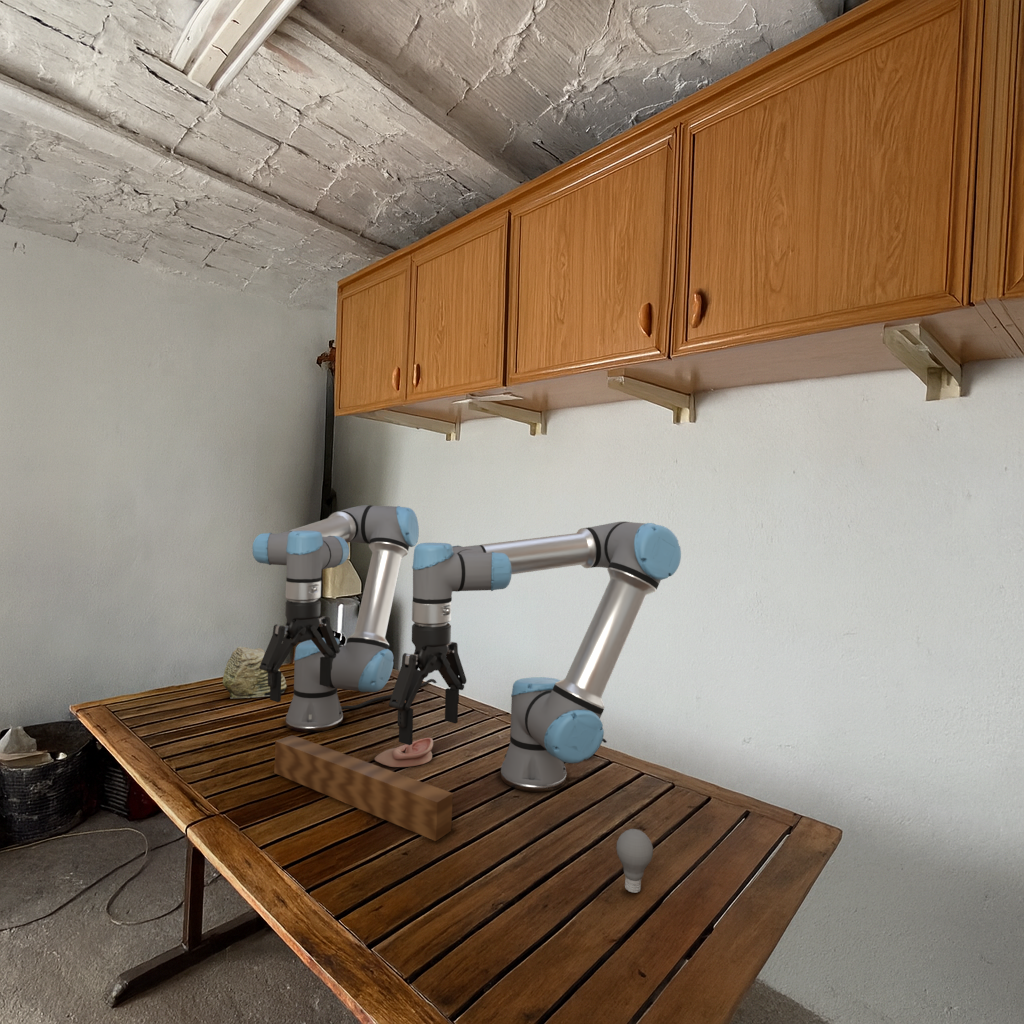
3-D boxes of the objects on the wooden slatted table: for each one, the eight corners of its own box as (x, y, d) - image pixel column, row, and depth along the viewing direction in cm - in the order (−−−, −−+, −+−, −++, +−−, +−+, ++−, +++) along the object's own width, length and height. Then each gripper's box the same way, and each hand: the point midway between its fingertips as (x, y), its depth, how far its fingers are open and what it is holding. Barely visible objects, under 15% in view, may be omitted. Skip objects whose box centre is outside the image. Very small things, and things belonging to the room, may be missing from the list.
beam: (274, 773, 144) (275, 740, 144) (291, 766, 148) (292, 734, 148) (435, 841, 118) (437, 802, 118) (451, 830, 122) (452, 793, 122)
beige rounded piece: (369, 747, 150) (388, 730, 162) (368, 764, 151) (387, 746, 162) (422, 754, 148) (438, 736, 159) (421, 771, 148) (437, 752, 159)
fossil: (218, 695, 195) (220, 647, 195) (278, 685, 208) (279, 640, 207) (228, 703, 189) (230, 653, 188) (289, 692, 201) (290, 645, 201)
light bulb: (610, 879, 108) (613, 822, 108) (644, 879, 109) (647, 822, 109) (619, 902, 102) (622, 840, 102) (655, 901, 103) (658, 840, 103)
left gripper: (265, 609, 130) (263, 711, 131) (356, 594, 151) (354, 682, 152) (243, 604, 134) (241, 703, 135) (334, 590, 155) (332, 676, 156)
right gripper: (401, 637, 110) (399, 758, 110) (484, 615, 131) (482, 717, 131) (370, 631, 114) (368, 748, 114) (455, 611, 135) (453, 710, 135)
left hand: (300, 692), depth 143 cm, fingers open, 13 cm apart
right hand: (429, 731), depth 123 cm, fingers open, 13 cm apart
